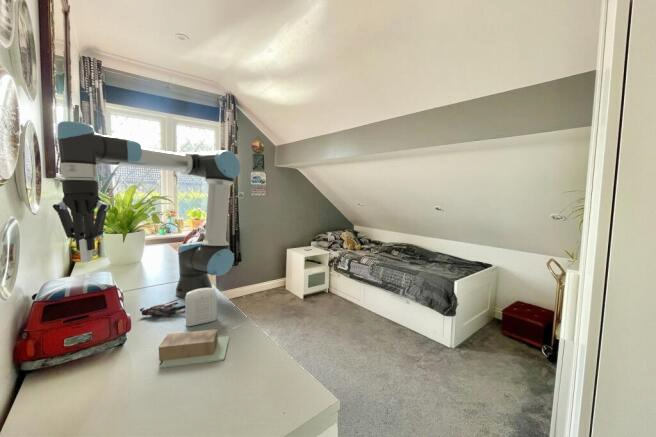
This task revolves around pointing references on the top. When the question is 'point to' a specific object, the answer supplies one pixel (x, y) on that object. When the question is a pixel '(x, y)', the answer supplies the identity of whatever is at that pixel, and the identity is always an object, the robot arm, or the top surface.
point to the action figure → (164, 310)
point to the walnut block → (188, 345)
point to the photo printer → (200, 306)
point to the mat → (217, 356)
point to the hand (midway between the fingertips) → (87, 261)
